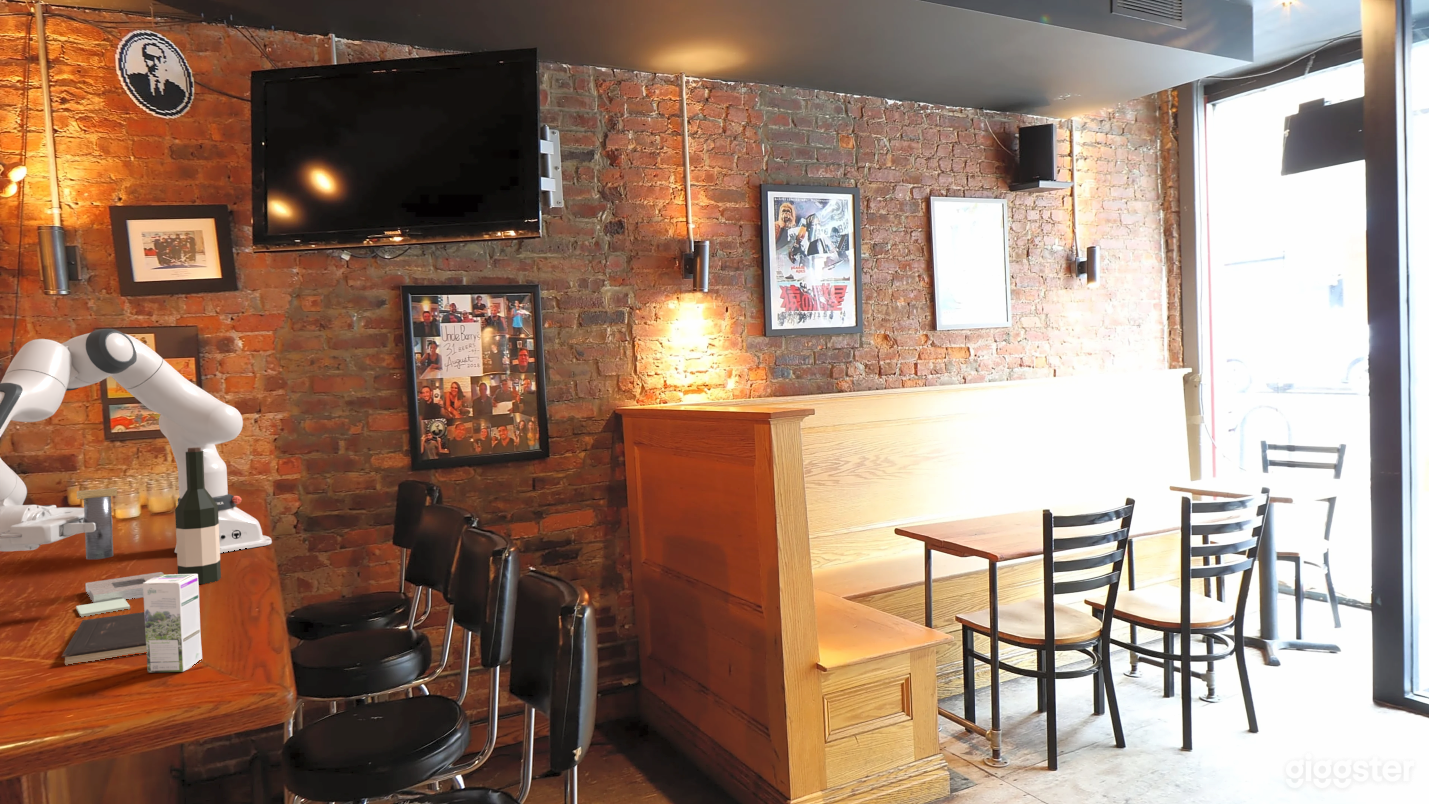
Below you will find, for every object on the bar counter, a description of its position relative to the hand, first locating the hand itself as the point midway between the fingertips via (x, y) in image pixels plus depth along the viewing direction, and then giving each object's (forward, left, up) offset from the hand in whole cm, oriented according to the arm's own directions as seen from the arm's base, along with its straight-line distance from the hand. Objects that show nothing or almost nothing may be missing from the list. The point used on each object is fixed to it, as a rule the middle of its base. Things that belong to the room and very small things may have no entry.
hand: (103, 524), depth 173 cm
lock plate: (-5, -12, -17) cm, 22 cm away
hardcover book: (0, +26, -18) cm, 32 cm away
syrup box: (-3, +50, -17) cm, 53 cm away
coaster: (+1, 0, -17) cm, 17 cm away
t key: (+1, 0, -6) cm, 7 cm away
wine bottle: (-19, -13, -17) cm, 28 cm away
